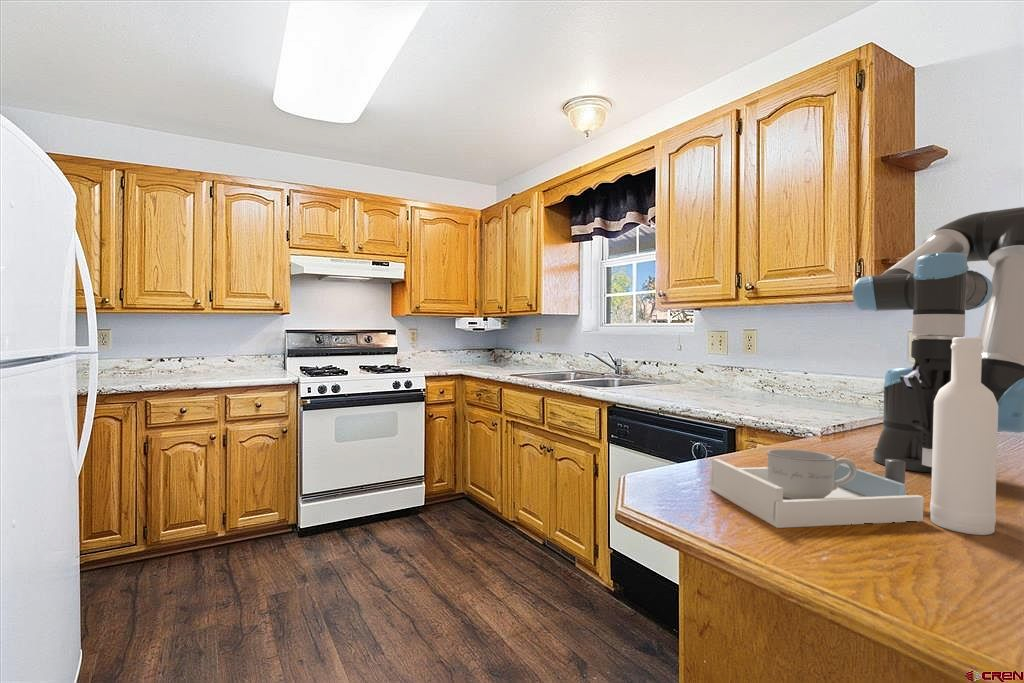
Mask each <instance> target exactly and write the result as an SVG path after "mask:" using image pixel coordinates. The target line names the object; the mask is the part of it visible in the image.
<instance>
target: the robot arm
mask: <svg viewBox="0 0 1024 683" xmlns="http://www.w3.org/2000/svg"><path fill="white" fill-rule="evenodd" d="M980 261H984V262H985V261H986V262H988V265H990V266H991V267H992V268H993V275H992V279H991V280H990V279H989V278H988V277H987V276H986V275H984V274H982V273H980V272H978V271H976V270H974V269H973V270H972V269H971V270H969V266H968V263H969V262H980ZM852 298H853V299H852V300H853V302H854V305H855V306H856V308H857V309H859V310H861V311H875V312H879V311H880V312H881V311H912V332H911V333H912V336H913V337H915V339H912V340H911V348H910V350H911V351H910V357H911V358H912V359H914V364H913V366H908V367H891V368H889V369H888V370H887V371H886V373H885V375H884V376H885V377H884V385H883V423H882V424H883V425H882V431H881V434H880V435H879V438H878V442H877V444H876V446H875V447H874V449H873V452H872V453H873V461H874V462H876V463H877V464H881V465H883V466H885V459H897V460H902V461H905V462H906V464H905V471H906V470H907V471H913V472H919V473H931V474H932V451H933V415H934V400H935V397H936V395H937V393H938V391H939V389H940V388H942V387H943V386H944V385H946V384H947V383H949V382H950V381H951V363H952V349H951V344H952V339H953V338H954V337H965V336H966V311H970V310H976V309H979V308H981V307H983V306H984V305H985V308H984V309H985V310H984V313H983V317H982V322H981V327H980V332H979V336H978V338H981V339H982V345H983V350H982V365H981V383H982V384H983V385H984V386H986V387H987V388H988V389H989V390H990V391H992V392H993V394H994V396H995V399H996V401H997V404H998V433H1002V432H1005V433H1006V432H1007V433H1015V434H1016V433H1024V206H1020V207H1019V206H1018V207H1011V208H1006V209H999V210H989V211H982V212H976V213H971V214H968V215H965V216H963V217H959V218H957V219H954V220H953V221H950V222H948V223H946V224H944V225H942V226H940V227H938V228H936V229H935V230H933V231H932V232H931V233H929V234H927V236H926V237H924V239H923V240H922V242H921V245H920V246H919V247H917V248H915V250H913V251H911V252H910V253H908V255H906V256H905V257H903V258H902V259H901V260H899V261H897V263H895V264H894V265H892V266H891V267H889V268H888V269H887V270H885V271H884V272H883V273H881V274H879V275H869V276H862V277H860V278H858V279H857V280H856V281H855V283H854V285H853V288H852Z"/></svg>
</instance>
